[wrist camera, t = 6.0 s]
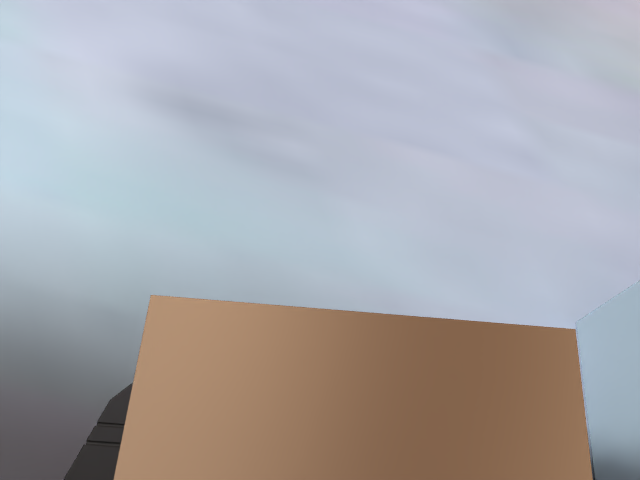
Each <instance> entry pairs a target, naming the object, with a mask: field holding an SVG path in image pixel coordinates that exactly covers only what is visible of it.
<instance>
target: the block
mask: <svg viewBox="0 0 640 480" xmlns="http://www.w3.org/2000/svg"><path fill="white" fill-rule="evenodd" d="M114 480H593V478H592V469H591V460H590V452H589V443H588V434H587V426H586V417H585V408H584V400H583V391H582V382H581V374H580V365H579V357H578V348H577V339H576V331H575V329H566V328H553V327H541V326H529V325H516V324H504V323H491V322H479V321H467V320H454V319H442V318H430V317H417V316H405V315H392V314H380V313H368V312H355V311H343V310H331V309H318V308H306V307H293V306H281V305H269V304H256V303H244V302H231V301H219V300H207V299H194V298H182V297H170V296H157V295H151V297H150V302H149V307H148V312H147V317H146V322H145V327H144V332H143V337H142V342H141V346H140V351H139V356H138V361H137V366H136V371H135V376H134V381H133V386H132V391H131V396H130V401H129V406H128V411H127V416H126V421H125V426H124V431H123V436H122V441H121V446H120V451H119V456H118V461H117V465H116V470H115V475H114Z"/></svg>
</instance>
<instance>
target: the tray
mask: <svg viewBox="0 0 640 480" xmlns="http://www.w3.org/2000/svg"><path fill="white" fill-rule="evenodd" d="M576 327H577V335H578V343H579V351H580V359H581V368H582V376H583V384H584V392H585V400H586V409H587V417H588V425H589V433H590V441H591V449H592V458H593V466H594V474H595V480H640V281H638V282H637V283H635V284H633V285H632V286H630V287H629V288H627V289H626V290H624V291H623V292H621V293H620V294H618V295H617V296H615V297H614V298H612V299H611V300H609V301H608V302H606V303H605V304H603V305H601V306H600V307H598V308H597V309H595V310H594V311H592V312H591V313H589V314H588V315H586V316H585V317H583V318H582V319H580V320H579V321H577V322H576Z"/></svg>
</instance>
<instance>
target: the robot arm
mask: <svg viewBox="0 0 640 480" xmlns="http://www.w3.org/2000/svg"><path fill="white" fill-rule="evenodd" d="M132 386H133V383H132V384H131V385H129V386H128V387H127V388H125V389H124V390H123V391H121V392H120V393H119V394H118V395H116V396H115V397H114V398H112V399H111V400H110V401H109V403H108V404H107V406H106V408H105V410H104V411H103V413H102V415H101V416H100V418H99V420H98V422H97V426H95V427H94V428H93V430H92V432H91V434H90V435H89V437H88V439H87V443H86V445H84V446H83V447H82V449H81V451H80V452H79V454H78V456H77V458H76V459H75V461H74V463H73V465H72V466H71V468H70V470H69V471H68V473H67V475H66V477H65V478H64V480H114V475H115V470H116V465H117V461H118V456H119V451H120V446H121V441H122V436H123V431H124V426H125V421H126V416H127V411H128V406H129V401H130V396H131V391H132Z"/></svg>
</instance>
